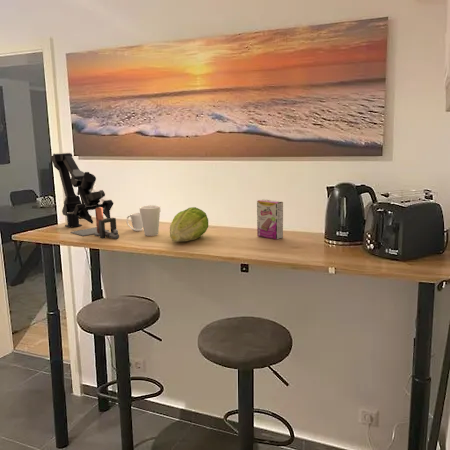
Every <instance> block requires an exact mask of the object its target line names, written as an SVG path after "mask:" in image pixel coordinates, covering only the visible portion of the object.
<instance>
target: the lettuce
mask: <svg viewBox="0 0 450 450" xmlns="http://www.w3.org/2000/svg"><path fill="white" fill-rule="evenodd" d="M208 228H209V218H208V215H207V213H206V212H205V211H204V210H202V209H200V208H198V207H195V206H193V207H188V208H186V209H184V210H182V211H179V212H178V213H177V214H176V215H175V216H174V217H173V219H172V220H171V223H170V225H169V237H170V239H171V241H173V242H189V241H195V240H197V239H199V238H201V236H203V235H204V234H205V233H206V232H207V230H208Z"/></svg>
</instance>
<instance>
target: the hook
mask: <svg viewBox="0 0 450 450" xmlns="http://www.w3.org/2000/svg"><path fill="white" fill-rule="evenodd" d="M94 211H95V224H96V227H97V232H95V233H94V234H93V235H94V237H100V234H99V221H98V220H101V219H104V214H103V207H96V208H95V210H94ZM113 232H114V233H112V232H111V231H105V235H106V237H107V238H111V239H115V240H118V239H119V238H120V235H119V229H117V228H116V229H115V230H113Z"/></svg>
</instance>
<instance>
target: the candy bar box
mask: <svg viewBox="0 0 450 450" xmlns="http://www.w3.org/2000/svg"><path fill="white" fill-rule="evenodd" d="M256 209H257V210H256V215H257V217H256V218H257V220H256V221H257V224H256V225H257V227H256V228H257V233H256V234H257V235H256V236H257V237H261V238H266V239H270V240H275V241H278V240H281V239H283V238H284V202H283V201H280V200H271V199H265V198H263V199H257V200H256Z"/></svg>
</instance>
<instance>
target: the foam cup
mask: <svg viewBox="0 0 450 450" xmlns="http://www.w3.org/2000/svg"><path fill="white" fill-rule="evenodd" d="M139 213H141V219H142V224H143V228H142V229H143V233H144V236H146V237H147V236H148V237H151V236H152V237H154V236H157V235H159V229H160V216H161V206H160V205H156V204H155V205H154V204H149V205H142V206H139Z"/></svg>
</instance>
